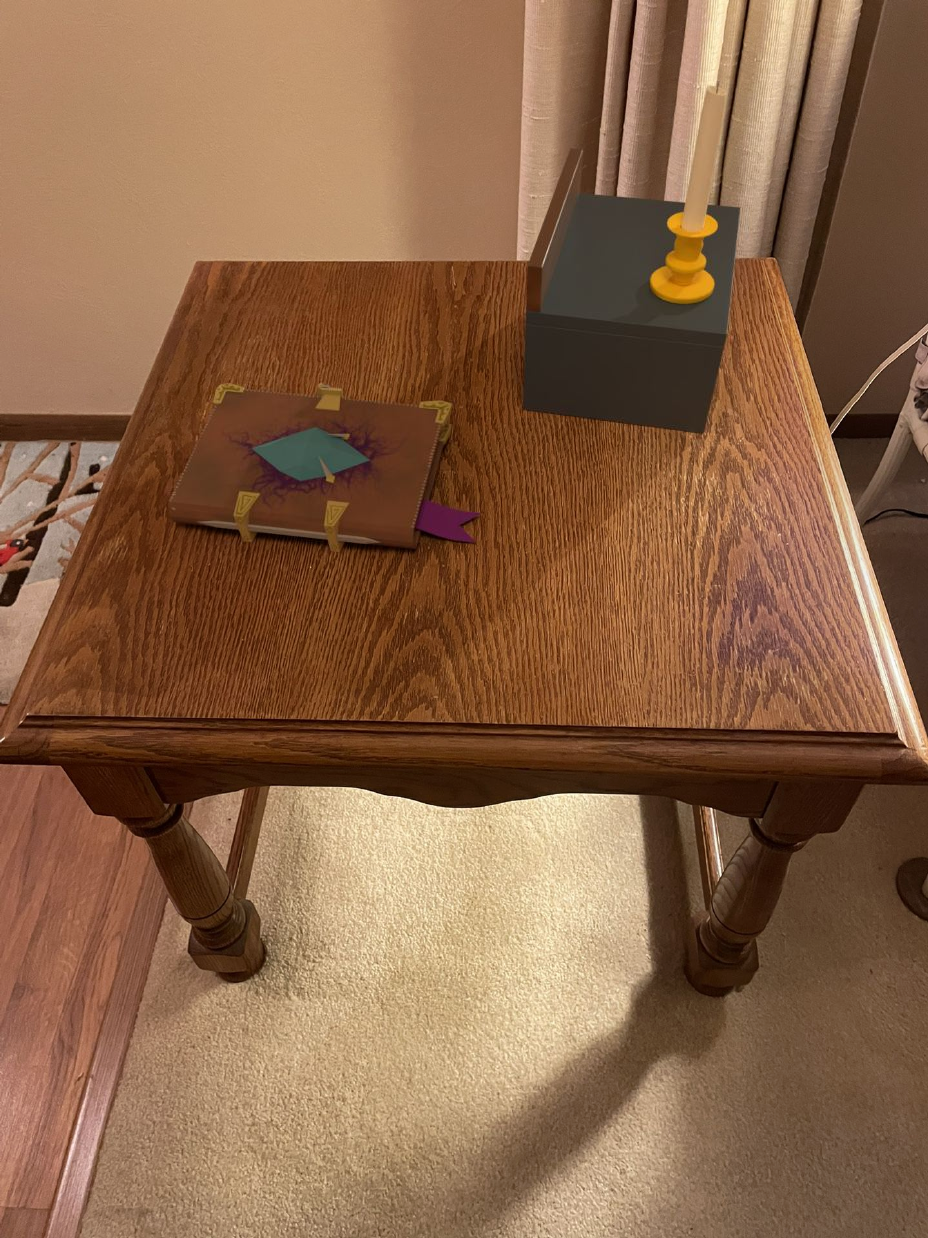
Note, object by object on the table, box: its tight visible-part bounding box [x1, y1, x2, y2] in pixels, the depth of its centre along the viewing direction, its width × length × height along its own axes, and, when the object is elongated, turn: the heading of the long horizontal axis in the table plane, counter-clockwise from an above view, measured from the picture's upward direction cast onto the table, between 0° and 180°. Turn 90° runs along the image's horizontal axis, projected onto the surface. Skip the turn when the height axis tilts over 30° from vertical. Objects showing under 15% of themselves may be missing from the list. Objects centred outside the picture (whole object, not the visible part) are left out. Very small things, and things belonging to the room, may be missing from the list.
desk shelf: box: [522, 148, 742, 434], centre depth 79 cm, size 16×20×14 cm
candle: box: [650, 80, 728, 304], centre depth 67 cm, size 5×5×16 cm
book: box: [168, 381, 483, 553], centre depth 73 cm, size 16×25×5 cm, turn 80°
